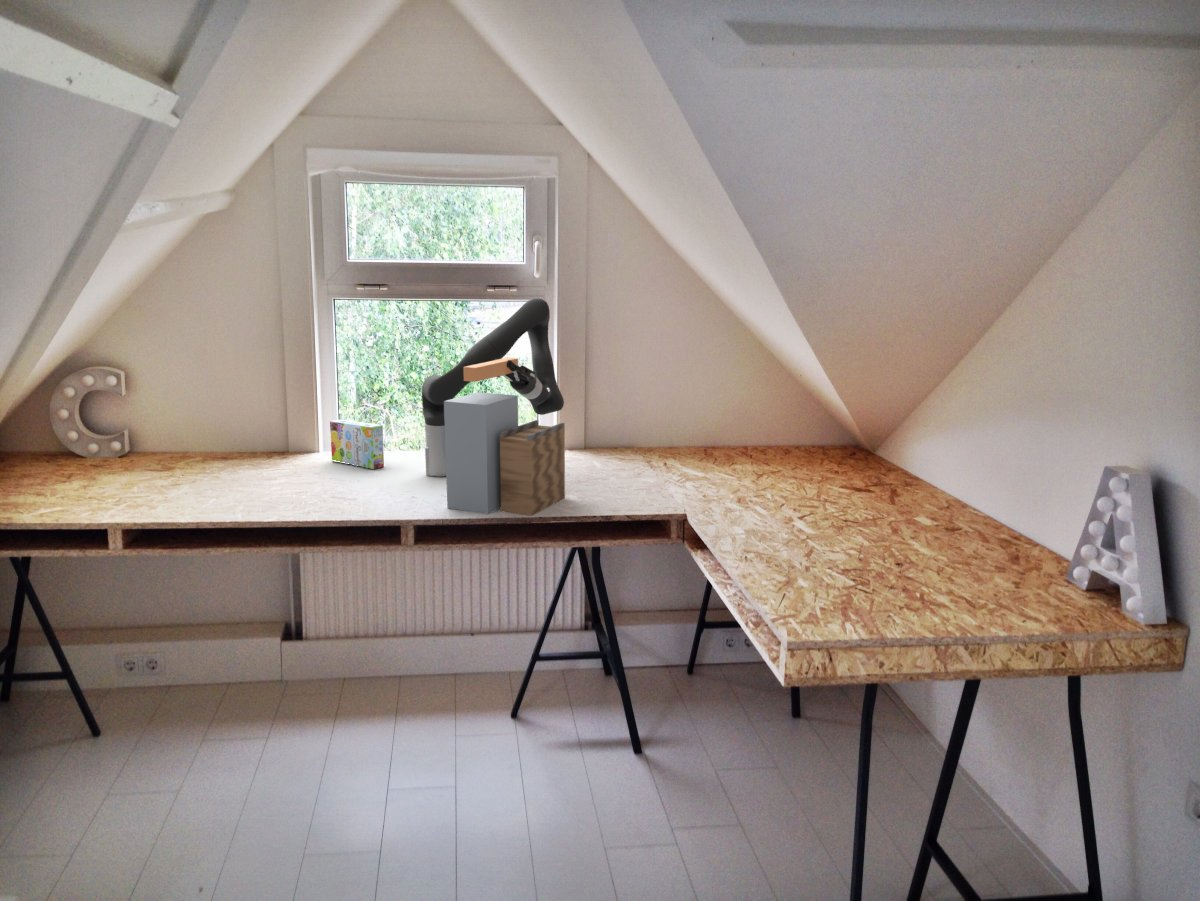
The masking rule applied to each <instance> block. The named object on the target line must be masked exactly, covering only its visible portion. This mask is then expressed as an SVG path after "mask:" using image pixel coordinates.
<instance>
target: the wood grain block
mask: <svg viewBox="0 0 1200 901" xmlns="http://www.w3.org/2000/svg"><path fill="white" fill-rule="evenodd" d="M565 427H566V426H565V422H559V423H558V424H554V425H551V426H549V425H548V426H547V425H540V424H539V420H538V419H537V420H536V419H534V420H532V421H529V422H526V423H524V424H520V425H518V426H517V427H514V428H512V429H509V430H506V431H503V432H500V475H501V508H500V510H501V511H500V512H503V513H510V514H516V515H524V516H527V517H528V516H529V517H530V516H531V517H532V516H534V515H535V514H538V513H540V512H541V511H543V510H545V509H548V508H549V507H551V506H553V505H555V504H557V503H558V502H560V501H562V500H564V499H565V498H566V489H565V488H566V479H565V478H566V476H565V474H566V473H565V470H566V461H565V458H566V457H565V454H566V452H565V451H566V450H565V449H566V446H565V445H566V442H565V435H566V434H565V430H566V429H565Z"/></svg>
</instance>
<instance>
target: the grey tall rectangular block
mask: <svg viewBox="0 0 1200 901" xmlns="http://www.w3.org/2000/svg"><path fill="white" fill-rule="evenodd" d="M444 420H445V450H446V476H445V478H446V481H445V482H446V504H447V507H446V508H447V509H449V508H451V509H450V510H456V509H459V510H458V511H463V510H464V512H472V513H476V514H477V513H478V514H485V515H489V514H491V513H494V512H496V511H498V510H501V475H500V432H503V431H506V430H509V429H512V428H514V427H517V426H519V395H517V394H516V395H514V394H503V393H502V394H501V393H492V392H491V393H490V392H479V391H477V392H474V393H473V392H472V393H469V394H467V395H462V396H458V397H454V398H453V399H450V400H446V401H444Z"/></svg>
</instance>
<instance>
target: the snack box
mask: <svg viewBox="0 0 1200 901" xmlns="http://www.w3.org/2000/svg"><path fill="white" fill-rule="evenodd" d="M329 428H330V429H329V431H330V446H331V461H332V460H336V461H340V462H345V463H349V464H354V465H358V466H362V467H361V468H363V467H367V468H366V469H368V468H372V469H371V470H377V469H376V468H378V469H381V468H380V467H382V468H384V467H385V462H384V461H385V459H384V458H385V457H384V454H385V453H384V434H383V433H384V428H383V425H382V424H379V423H378V424H376V423H371V422H369V423H368V422H363V421H362V422H361V421H355V420H348V419H335V420H330V421H329Z"/></svg>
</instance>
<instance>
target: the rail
mask: <svg viewBox="0 0 1200 901" xmlns="http://www.w3.org/2000/svg"><path fill="white" fill-rule="evenodd" d="M508 360H511V361H512V362H513V363H514V364H517V365H519V358H516V357H503V358H502V359H498V360H494V361H489V362H484V363H480V364H475V365H470V366H466V367H463V370H464V381H471V382H474V383H475V382H476V383H477V382H481V381H485V380H488V379H493V378H498V377H497V376H500V377H503V376H502V375H506V374H510V373H513V371H511V370H510V369H509V368H508V367H507V361H508Z"/></svg>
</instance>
